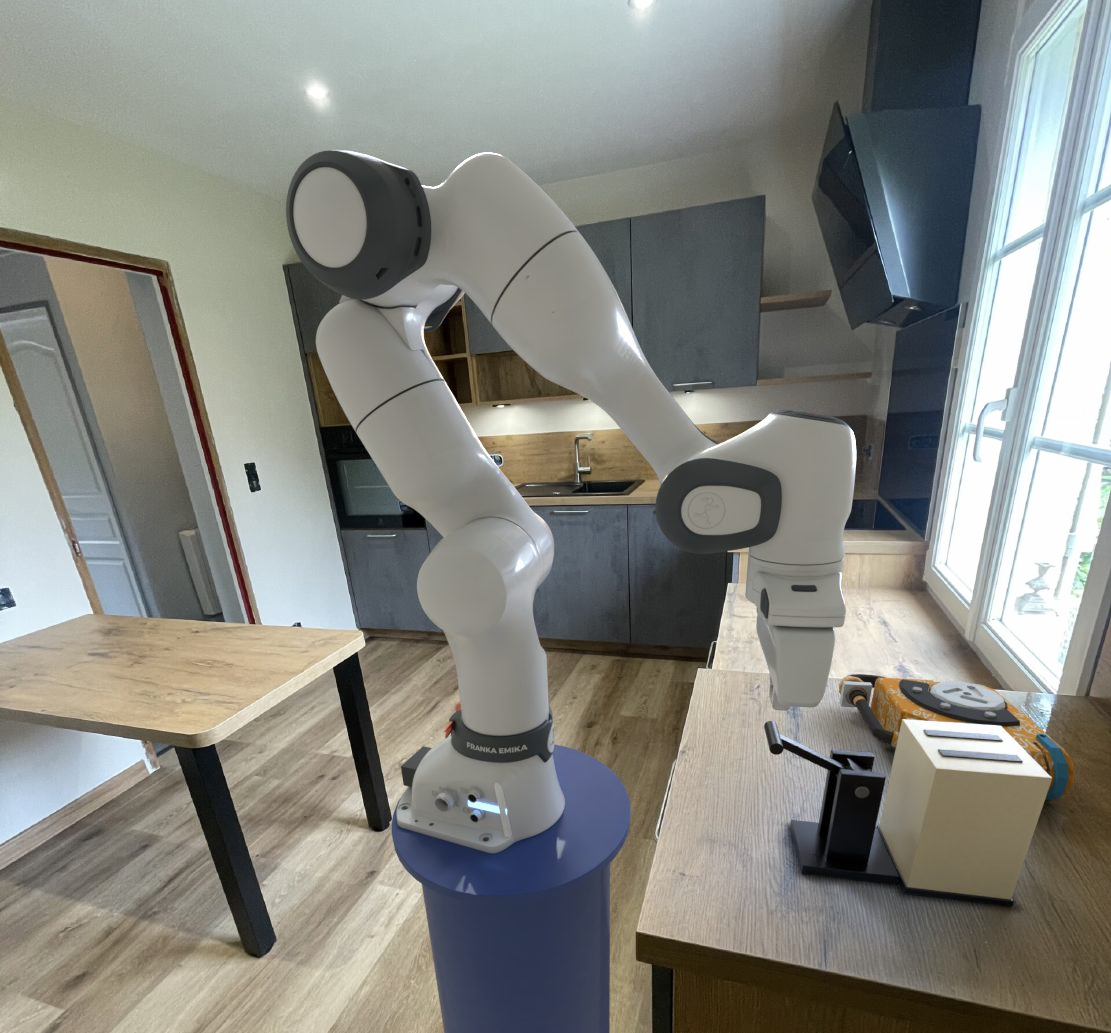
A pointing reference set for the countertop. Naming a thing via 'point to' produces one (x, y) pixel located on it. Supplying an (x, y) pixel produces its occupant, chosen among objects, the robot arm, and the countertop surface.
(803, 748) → the lever
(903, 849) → the toaster
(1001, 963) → the countertop surface
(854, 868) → the lever bracket
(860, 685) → the device
